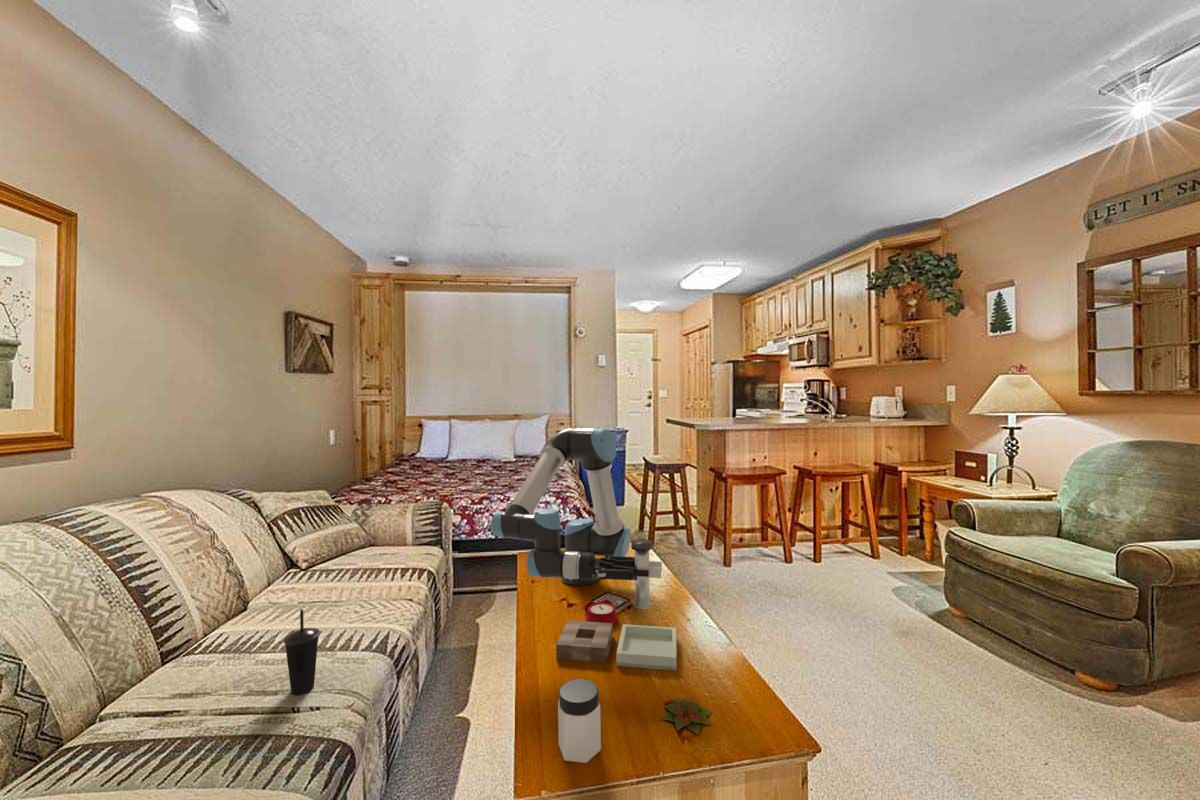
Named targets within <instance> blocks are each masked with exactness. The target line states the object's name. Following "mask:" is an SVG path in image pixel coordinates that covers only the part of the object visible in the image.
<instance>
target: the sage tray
mask: <svg viewBox="0 0 1200 800" xmlns="http://www.w3.org/2000/svg"><path fill="white" fill-rule="evenodd" d="M615 657H616V667H625V668H628V667H629V668H639V669H647V670H648V669H649V670H660V671H661V670H662V671H674V672H675V671H676V672H677V669H678V668H677V667H678V666H677V664H678V663H677V627H671V626H669V627H668V626H655V625H641V624H640V625H638V624H627V623H626V624H625V623H623V624H622V627H621V631H620V636H619V640H618V645H617V649H616V656H615Z"/></svg>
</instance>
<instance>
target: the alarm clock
mask: <svg viewBox="0 0 1200 800" xmlns="http://www.w3.org/2000/svg"><path fill="white" fill-rule="evenodd" d="M616 609H617V608H616V605H614V604H613V602H612V600H610V599H603V600H600V601H599V600H596V601H593V600H589V601H587V602H586V603H585V605H584V612H585V613H586V616H585V622H599V623H613V625H615V624H617V622H618V621H617V620H618V619H619V617H618V615H617V613H616V611H617V610H616ZM587 613H588V614H587Z"/></svg>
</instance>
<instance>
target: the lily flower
mask: <svg viewBox="0 0 1200 800" xmlns="http://www.w3.org/2000/svg"><path fill="white" fill-rule="evenodd" d="M685 696H686V694H684V697H685ZM690 696H691V695H690V694H689V696H688V697H690ZM684 697H683V696H680V697H679V696H677V697H676V700H675V701H674V703H669V704H667V705H664V707H665V708H666V709H667V710H668V712H666V713H665V714H664V715H662V717H661V718H660V720H665V721H670V722H672V723H674V724H675V725H674V726H675V727H676V732H678V731H679V730H681V729H682V728H684V727H686V728H687V729H688V730H690V731H691V732H693V733H695V734H696V735H697V736H699V733H700V731H701V730H700V729H701V724H704V725H709V726H712V723H711V722H710V721H709V719H708V716H709V715H711V713H713V710H709V709H707V708H705V707H700V704H699V702H698V701H695V699H697V697H694V698H693V699H692V698H688V700H687V699H686V697H685V698H684ZM689 713H690V715H691V716H692V718H690V719H685V718H684V717H683V715H682V714H684V715H685V717H689ZM691 722H692V723H694V725H693V726H691V725H690V724H691Z"/></svg>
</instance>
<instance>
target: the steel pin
mask: <svg viewBox="0 0 1200 800" xmlns="http://www.w3.org/2000/svg"><path fill="white" fill-rule="evenodd" d="M630 546H631V547H630V548H631V550H633V551H634V557H635V568H637V567H638V566H641V567H649V561H650V551H652V550H653V541H652V540H649V539H645V538H639V539H634V540H632V541H631V540H630ZM634 587H635V589H634V593H635V595H634V596H635V597H634V599H635V600H634V601H635V608H637V609H640V610H645V609H649V608H650V602H651V601H650V600H651V599H650V578H648V577H637V580H636V581H634Z"/></svg>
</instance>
